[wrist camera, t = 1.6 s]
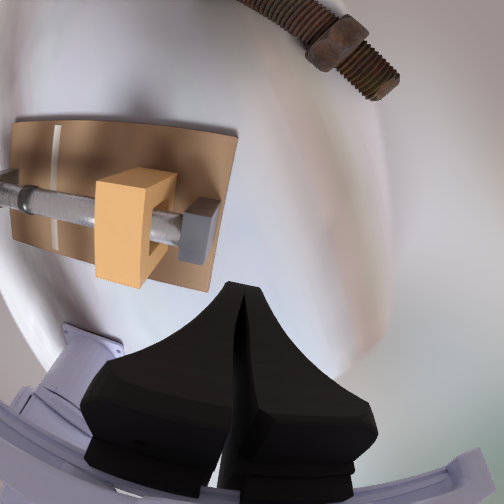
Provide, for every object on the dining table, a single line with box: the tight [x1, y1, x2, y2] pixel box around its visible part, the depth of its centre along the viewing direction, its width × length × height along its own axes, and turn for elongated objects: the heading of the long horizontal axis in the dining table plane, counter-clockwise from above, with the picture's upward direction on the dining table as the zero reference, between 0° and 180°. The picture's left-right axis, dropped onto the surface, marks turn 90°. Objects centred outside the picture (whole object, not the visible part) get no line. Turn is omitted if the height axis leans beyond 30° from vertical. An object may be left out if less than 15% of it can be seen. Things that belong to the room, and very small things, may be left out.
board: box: [9, 120, 238, 293], centre depth 19 cm, size 22×12×1 cm, turn 78°
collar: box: [94, 167, 178, 289], centre depth 16 cm, size 3×6×6 cm, turn 168°
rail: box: [0, 168, 221, 266], centre depth 17 cm, size 22×3×5 cm, turn 78°
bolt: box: [237, 0, 400, 101], centre depth 12 cm, size 6×5×15 cm
